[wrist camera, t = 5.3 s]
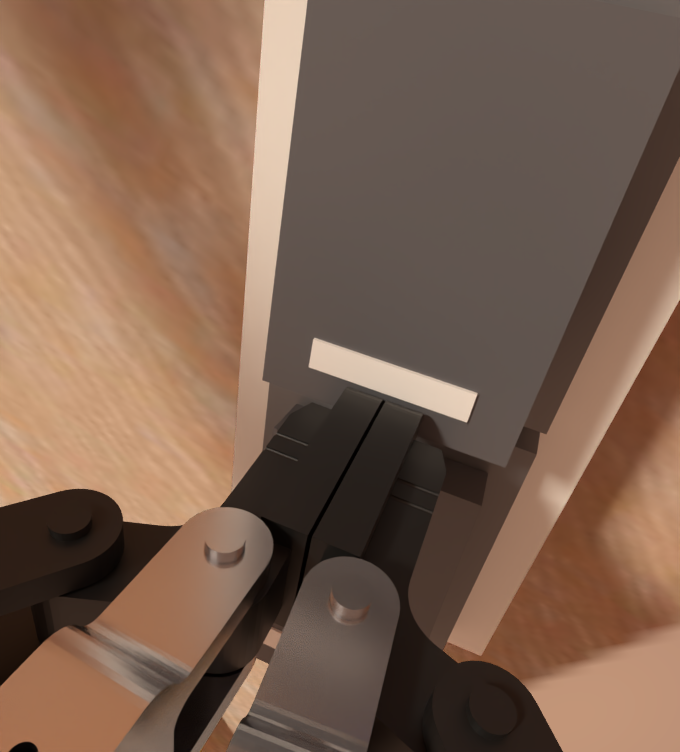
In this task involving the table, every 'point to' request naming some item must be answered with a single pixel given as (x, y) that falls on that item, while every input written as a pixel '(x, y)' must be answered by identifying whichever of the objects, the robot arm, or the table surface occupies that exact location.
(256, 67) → the table surface
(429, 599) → the rocker
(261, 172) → the power strip
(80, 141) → the table surface
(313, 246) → the plate
